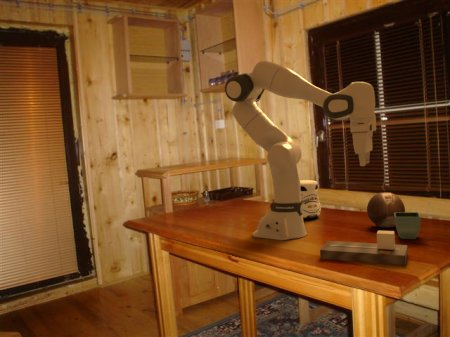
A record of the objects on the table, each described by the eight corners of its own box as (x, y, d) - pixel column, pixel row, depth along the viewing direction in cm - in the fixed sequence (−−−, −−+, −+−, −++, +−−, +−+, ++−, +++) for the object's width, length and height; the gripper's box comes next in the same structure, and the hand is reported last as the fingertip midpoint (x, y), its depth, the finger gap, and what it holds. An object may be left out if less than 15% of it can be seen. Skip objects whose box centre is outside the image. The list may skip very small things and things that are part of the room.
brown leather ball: (379, 232, 165) (377, 196, 164) (361, 225, 180) (359, 191, 179) (413, 229, 167) (412, 193, 166) (392, 222, 182) (391, 188, 181)
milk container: (315, 222, 192) (313, 184, 191) (280, 220, 201) (278, 184, 199) (325, 215, 207) (323, 179, 206) (293, 213, 216) (291, 180, 214)
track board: (320, 258, 136) (320, 249, 136) (328, 249, 147) (328, 240, 147) (405, 265, 124) (405, 255, 124) (407, 254, 135) (407, 244, 135)
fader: (377, 248, 132) (376, 233, 131) (378, 245, 135) (378, 230, 135) (394, 249, 129) (393, 234, 129) (395, 246, 133) (394, 231, 132)
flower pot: (395, 240, 153) (394, 216, 152) (394, 234, 161) (393, 212, 160) (421, 241, 149) (420, 216, 149) (419, 235, 158) (418, 212, 157)
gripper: (358, 127, 159) (360, 162, 160) (349, 127, 140) (351, 167, 141) (375, 126, 156) (377, 162, 157) (368, 126, 138) (370, 167, 139)
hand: (364, 164), depth 149 cm, fingers open, 8 cm apart
